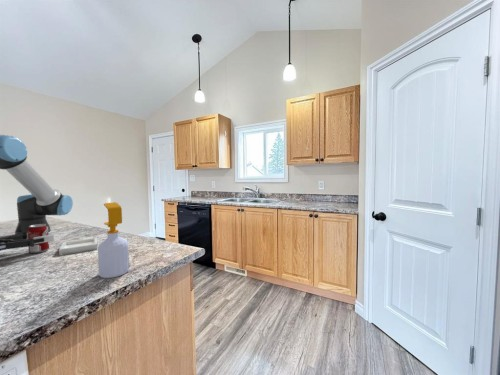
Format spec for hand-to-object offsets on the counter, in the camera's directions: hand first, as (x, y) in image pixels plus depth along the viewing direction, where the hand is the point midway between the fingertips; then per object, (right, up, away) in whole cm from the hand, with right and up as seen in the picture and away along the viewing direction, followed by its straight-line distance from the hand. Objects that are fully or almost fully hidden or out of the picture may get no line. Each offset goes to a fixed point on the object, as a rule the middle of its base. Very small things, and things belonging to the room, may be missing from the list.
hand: (49, 235), depth 104 cm
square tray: (+13, -6, +2) cm, 15 cm away
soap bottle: (+45, -8, -25) cm, 52 cm away
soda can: (-2, -7, -3) cm, 8 cm away
